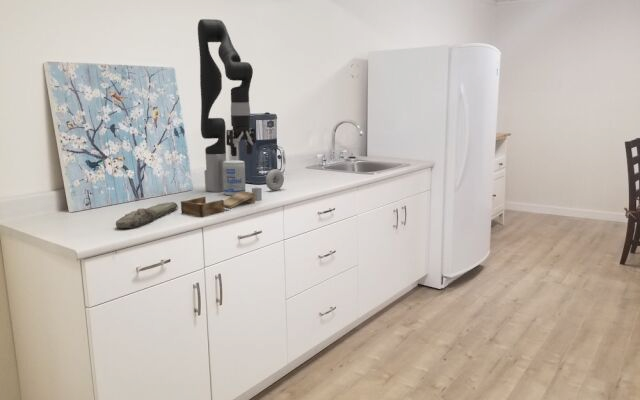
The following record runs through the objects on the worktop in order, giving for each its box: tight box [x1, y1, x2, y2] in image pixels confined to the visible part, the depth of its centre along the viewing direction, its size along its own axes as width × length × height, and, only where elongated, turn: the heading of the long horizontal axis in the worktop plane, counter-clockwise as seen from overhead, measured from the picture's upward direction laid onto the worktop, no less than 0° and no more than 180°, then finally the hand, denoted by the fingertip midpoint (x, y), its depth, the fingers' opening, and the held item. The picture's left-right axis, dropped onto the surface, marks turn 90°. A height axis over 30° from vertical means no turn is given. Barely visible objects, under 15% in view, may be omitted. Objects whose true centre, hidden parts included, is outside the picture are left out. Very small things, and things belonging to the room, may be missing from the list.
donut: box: [265, 168, 285, 191], centre depth 236 cm, size 10×4×10 cm, turn 136°
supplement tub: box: [223, 159, 246, 197], centre depth 227 cm, size 10×10×15 cm
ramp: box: [223, 191, 256, 209], centre depth 206 cm, size 14×7×4 cm, turn 144°
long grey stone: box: [115, 201, 178, 229], centre depth 184 cm, size 35×5×10 cm
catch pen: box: [180, 196, 225, 218], centre depth 192 cm, size 11×11×4 cm
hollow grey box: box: [251, 186, 263, 202], centre depth 215 cm, size 3×3×5 cm
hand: (242, 155), depth 206 cm, fingers open, 8 cm apart
